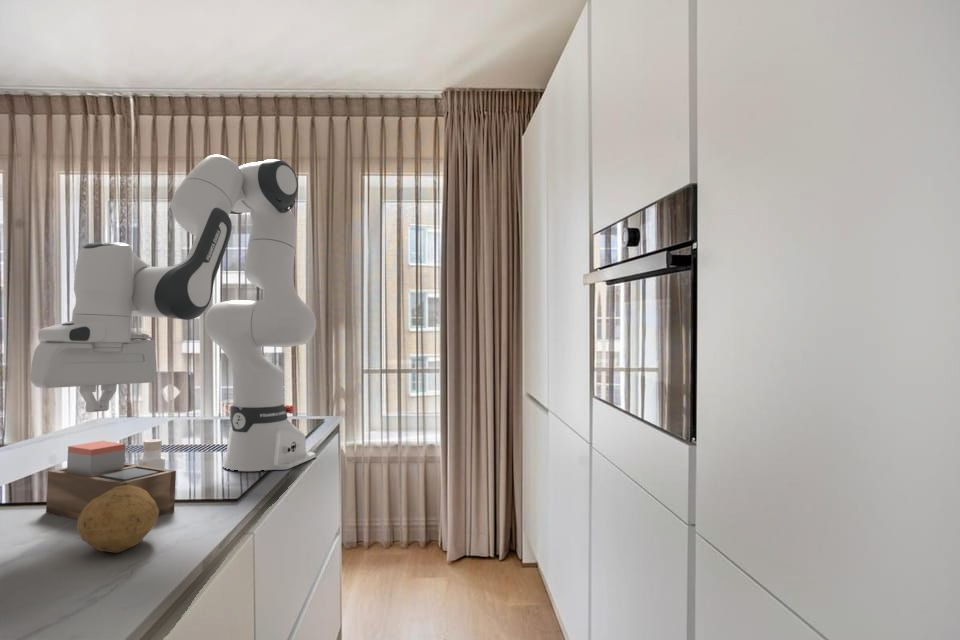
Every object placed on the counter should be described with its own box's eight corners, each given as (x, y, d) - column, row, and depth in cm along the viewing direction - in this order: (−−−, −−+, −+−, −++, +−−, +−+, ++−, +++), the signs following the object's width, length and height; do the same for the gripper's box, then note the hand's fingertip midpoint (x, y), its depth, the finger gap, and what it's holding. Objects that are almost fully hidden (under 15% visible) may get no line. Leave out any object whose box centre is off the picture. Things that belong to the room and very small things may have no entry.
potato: (61, 572, 74) (64, 509, 74) (90, 535, 87) (92, 482, 87) (147, 563, 77) (150, 503, 78) (163, 529, 90) (165, 478, 91)
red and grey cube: (100, 473, 104) (102, 440, 104) (123, 477, 102) (125, 443, 102) (66, 481, 98) (68, 446, 99) (89, 485, 96) (91, 449, 96)
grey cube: (132, 502, 101) (134, 467, 101) (156, 506, 98) (158, 471, 99) (98, 511, 95) (100, 475, 95) (123, 516, 93) (125, 479, 93)
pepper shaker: (136, 488, 113) (138, 440, 113) (159, 485, 116) (161, 438, 116) (141, 492, 110) (143, 443, 110) (164, 489, 113) (166, 441, 113)
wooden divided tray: (104, 497, 106) (105, 459, 107) (174, 511, 100) (175, 470, 100) (46, 512, 97) (48, 470, 97) (119, 528, 90) (121, 483, 91)
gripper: (143, 333, 112) (139, 405, 111) (27, 330, 93) (21, 415, 92) (166, 334, 109) (162, 407, 109) (52, 330, 90) (47, 418, 90)
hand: (97, 411), depth 100 cm, fingers closed
